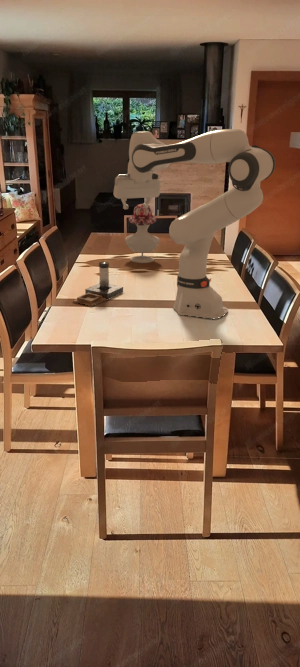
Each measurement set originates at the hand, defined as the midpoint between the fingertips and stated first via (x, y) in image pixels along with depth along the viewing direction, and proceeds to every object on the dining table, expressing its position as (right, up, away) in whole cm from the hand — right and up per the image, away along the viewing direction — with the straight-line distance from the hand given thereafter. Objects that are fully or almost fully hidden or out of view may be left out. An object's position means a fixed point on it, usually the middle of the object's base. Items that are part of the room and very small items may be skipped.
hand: (135, 208), depth 208 cm
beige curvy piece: (+2, -10, +74) cm, 74 cm away
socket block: (-14, -34, +17) cm, 40 cm away
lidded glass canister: (-14, -34, +17) cm, 40 cm away
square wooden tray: (-20, -38, +7) cm, 43 cm away
